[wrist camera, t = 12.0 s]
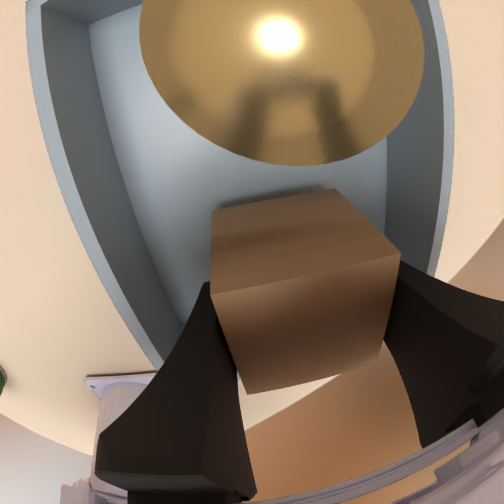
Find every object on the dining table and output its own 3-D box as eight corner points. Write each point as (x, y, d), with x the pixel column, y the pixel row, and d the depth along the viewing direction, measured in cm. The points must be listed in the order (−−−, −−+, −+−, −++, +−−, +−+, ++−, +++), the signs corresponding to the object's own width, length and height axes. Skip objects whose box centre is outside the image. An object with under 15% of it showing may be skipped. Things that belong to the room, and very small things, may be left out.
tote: (379, 273, 17) (418, 326, 13) (175, 319, 16) (169, 388, 12) (363, -15, 8) (424, -42, 3) (84, 24, 7) (25, 1, 3)
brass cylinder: (318, 111, 10) (433, 147, 5) (199, 136, 10) (184, 198, 5) (295, 4, 8) (389, -65, 2) (170, 25, 8) (119, -52, 2)
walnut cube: (335, 283, 14) (376, 361, 9) (236, 305, 13) (247, 394, 9) (334, 188, 11) (401, 252, 7) (211, 210, 11) (210, 294, 7)
